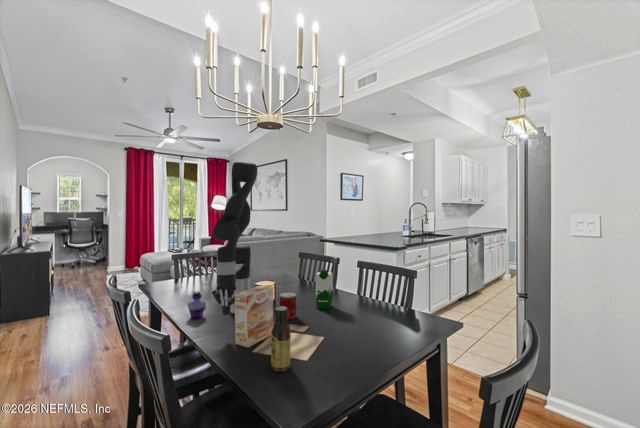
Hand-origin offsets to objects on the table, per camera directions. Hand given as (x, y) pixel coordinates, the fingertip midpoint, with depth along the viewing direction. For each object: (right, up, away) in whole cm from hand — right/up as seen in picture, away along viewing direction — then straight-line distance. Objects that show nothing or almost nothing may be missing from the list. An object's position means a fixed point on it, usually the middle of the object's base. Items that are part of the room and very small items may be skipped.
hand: (226, 314), depth 126 cm
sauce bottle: (+26, -9, -26) cm, 38 cm away
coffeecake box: (+13, -9, -4) cm, 16 cm away
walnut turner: (+23, -9, +8) cm, 26 cm away
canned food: (+23, -9, +21) cm, 32 cm away
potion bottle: (-20, -8, +20) cm, 30 cm away
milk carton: (+41, -8, +36) cm, 55 cm away
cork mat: (+27, -9, -9) cm, 30 cm away
